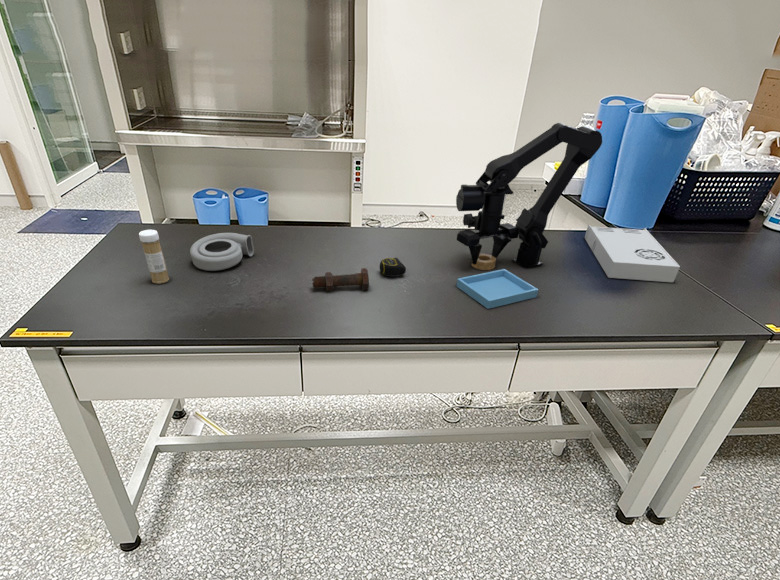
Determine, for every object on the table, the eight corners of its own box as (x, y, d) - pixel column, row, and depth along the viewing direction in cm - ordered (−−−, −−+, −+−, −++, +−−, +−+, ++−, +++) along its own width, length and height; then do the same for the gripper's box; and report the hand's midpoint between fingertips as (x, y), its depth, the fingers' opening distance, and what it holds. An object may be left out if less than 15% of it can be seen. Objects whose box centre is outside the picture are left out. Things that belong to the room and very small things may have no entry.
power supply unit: (639, 241, 172) (644, 227, 169) (673, 282, 146) (680, 266, 143) (584, 238, 173) (588, 223, 170) (608, 278, 147) (613, 262, 144)
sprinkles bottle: (169, 276, 138) (157, 228, 130) (169, 283, 135) (157, 234, 127) (151, 278, 137) (138, 229, 129) (151, 285, 134) (138, 236, 125)
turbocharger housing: (182, 270, 144) (226, 280, 140) (176, 249, 140) (221, 258, 136) (217, 246, 156) (258, 254, 152) (213, 226, 152) (255, 234, 147)
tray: (503, 276, 146) (504, 268, 144) (536, 297, 136) (538, 289, 134) (456, 286, 140) (457, 278, 138) (487, 309, 130) (489, 301, 128)
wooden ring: (485, 259, 155) (486, 252, 154) (499, 268, 150) (500, 260, 149) (467, 262, 153) (468, 255, 151) (480, 271, 148) (482, 264, 146)
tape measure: (406, 277, 143) (407, 265, 141) (383, 280, 141) (384, 267, 139) (398, 268, 148) (399, 255, 146) (376, 270, 146) (376, 258, 144)
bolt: (313, 294, 137) (367, 290, 138) (313, 293, 132) (369, 289, 133) (311, 272, 136) (366, 269, 137) (311, 270, 131) (367, 266, 132)
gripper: (500, 198, 150) (492, 248, 160) (449, 205, 143) (443, 257, 153) (524, 209, 143) (514, 261, 152) (471, 217, 136) (464, 271, 145)
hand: (483, 262), depth 151 cm, fingers closed on wooden ring, 7 cm apart
